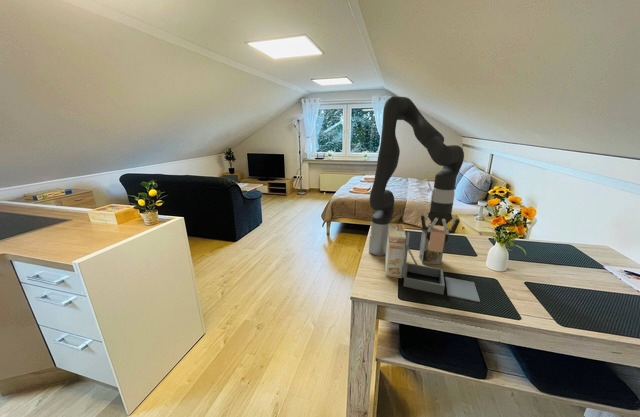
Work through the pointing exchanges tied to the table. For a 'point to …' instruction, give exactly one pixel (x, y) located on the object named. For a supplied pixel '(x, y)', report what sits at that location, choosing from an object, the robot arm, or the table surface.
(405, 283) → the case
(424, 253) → the coffee box
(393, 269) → the coffeecake box
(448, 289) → the mat
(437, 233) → the block
